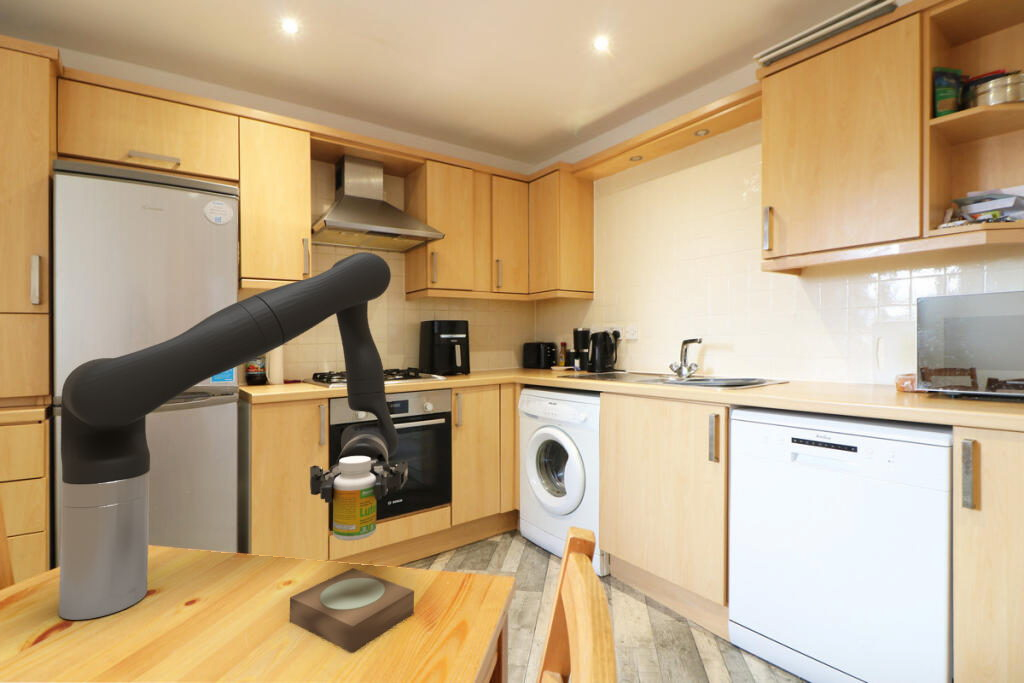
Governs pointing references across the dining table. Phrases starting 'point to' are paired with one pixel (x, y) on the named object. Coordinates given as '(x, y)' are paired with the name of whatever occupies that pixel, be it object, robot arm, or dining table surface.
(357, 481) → the supplement bottle
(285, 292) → the robot arm
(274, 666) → the dining table surface
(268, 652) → the dining table surface
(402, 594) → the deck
